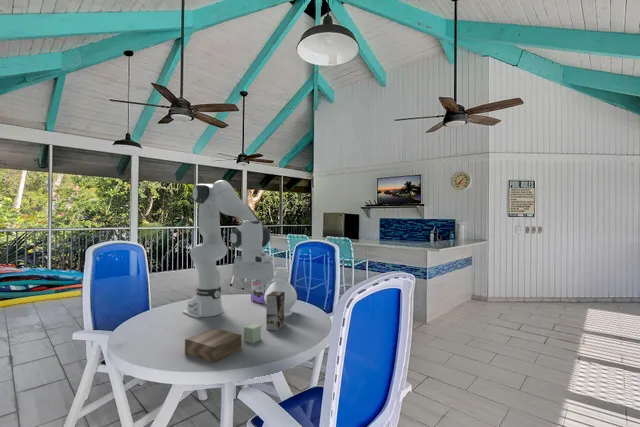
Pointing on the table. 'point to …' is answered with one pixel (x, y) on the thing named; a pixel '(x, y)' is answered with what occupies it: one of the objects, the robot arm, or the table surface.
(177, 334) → the table surface
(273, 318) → the coffee box
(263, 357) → the table surface
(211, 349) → the walnut block
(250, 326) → the sage block
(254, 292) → the candy box
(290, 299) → the decorative vase
